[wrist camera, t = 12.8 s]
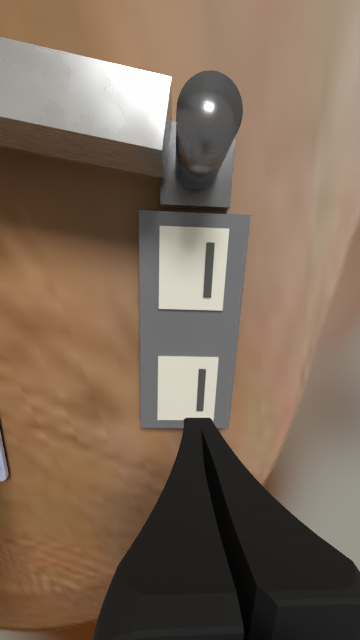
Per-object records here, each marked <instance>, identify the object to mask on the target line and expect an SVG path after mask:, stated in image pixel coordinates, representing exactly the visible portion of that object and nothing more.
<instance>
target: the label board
mask: <svg viewBox="0 0 360 640" xmlns="http://www.w3.org/2000/svg"><path fill="white" fill-rule="evenodd" d="M249 225H250V215H236V214H214V213H192V212H171V211H149V210H139V297H140V398H141V428H184V419H185V418H211V419H212V421H213V423H214V424H215V426H216V428H227V429H229V420H230V410H231V400H232V391H233V381H234V371H235V361H236V351H237V342H238V332H239V322H240V312H241V303H242V293H243V283H244V273H245V264H246V254H247V244H248V234H249Z"/></svg>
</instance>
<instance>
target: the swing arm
mask: <svg viewBox="0 0 360 640" xmlns="http://www.w3.org/2000/svg"><path fill="white" fill-rule="evenodd" d="M171 126H172V107H171V77H170V76H166V75H161V74H157V73H153V72H148V71H144V70H140V69H136V68H131V67H127V66H123V65H119V64H114V63H110V62H106V61H101V60H97V59H93V58H89V57H84V56H80V55H76V54H71V53H67V52H63V51H59V50H54V49H50V48H46V47H41V46H37V45H33V44H29V43H24V42H20V41H16V40H11V39H7V38H3V37H0V146H5V147H10V148H15V149H20V150H25V151H30V152H35V153H40V154H45V155H50V156H55V157H60V158H65V159H70V160H75V161H80V162H85V163H90V164H95V165H100V166H105V167H110V168H115V169H120V170H125V171H130V172H135V173H140V174H145V175H150V176H155V177H160V178H165V171H166V164H167V156H168V149H169V141H170V133H171Z"/></svg>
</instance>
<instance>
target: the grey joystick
mask: <svg viewBox="0 0 360 640" xmlns="http://www.w3.org/2000/svg"><path fill="white" fill-rule="evenodd" d="M242 114H243V106H242V99H241V96H240V93H239V91H238V89H237V87H236V85H235V84H234V83H233V81H232V80H231V79H230V78H229V77H227V76H226V75H224V74H222V73H220V72H217V71H203V72H200V73H198V74H196V75H194V76H193V77H191V78H190V79H189V80H188V81H187V82H186V84H185V85H184V87H183V88H182V90H181V92H180V95H179V98H178V102H177V113H176V121H172V126H171V133H170V141H169V149H168V156H167V164H166V171H165V178H161V180H160V206H161V207H166V208H188V209H209V210H228V209H229V208H230V198H231V186H232V173H233V161H234V149H235V136H236V134H237V132H238V130H239V127H240V124H241V120H242Z"/></svg>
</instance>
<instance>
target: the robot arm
mask: <svg viewBox="0 0 360 640" xmlns="http://www.w3.org/2000/svg"><path fill="white" fill-rule="evenodd" d="M8 476H9V474H8V468H7V463H6V458H5V453H4V447H3V442H2V437H1V431H0V481H4V480H6V478H7V477H8ZM93 640H360V571H359V570H358V569H357V567H356V566H355V564H354V563H353V561H351V560H350V559H349V558H347V557H346V556H345V555H343V554H342V553H341V552H339V551H338V550H337V549H335V548H334V547H333V546H331V545H330V544H329V543H327V542H326V541H325V540H323V539H322V538H320V537H319V536H318V535H316V534H315V533H314V532H313V531H312V530H310V529H309V528H308V527H307V526H306V525H304V524H303V523H302V522H301V521H299V520H298V519H297V518H296V517H295V516H294V515H292V514H291V513H290V512H289V511H288V510H287V509H286V508H285V507H283V506H282V505H281V504H280V503H279V502H278V501H277V500H276V499H275V498H274V497H273V496H272V495H271V494H270V493H269V492H268V491H267V490H266V489H265V488H264V487H263V486H262V485H261V484H260V483H259V482H258V481H257V480H256V479H255V478H254V476H253V475H252V474H251V473H250V472H249V471H248V470H247V468H246V467H245V466H244V465H243V464H242V462H241V461H240V460H239V459H238V457H237V456H236V455H235V454H234V452H233V451H232V449H231V448H230V447H229V445H228V444H227V443H226V441H225V440H224V438H223V437H222V435H221V434H220V432H219V431H218V429H217V428H216V426H215V424H214V423H213V421H212V419H211V418H185V419H184V429H183V435H182V440H181V444H180V447H179V451H178V454H177V457H176V460H175V463H174V465H173V468H172V471H171V473H170V476H169V478H168V480H167V482H166V485H165V487H164V489H163V491H162V493H161V495H160V497H159V499H158V501H157V503H156V505H155V507H154V509H153V511H152V512H151V514H150V516H149V518H148V519H147V521H146V523H145V525H144V526H143V528H142V530H141V531H140V533H139V535H138V536H137V538H136V539H135V541H134V542H133V544H132V546H131V547H130V549H129V550H128V552H127V553H126V555H125V556H124V558H123V559H122V561H121V562H120V564H119V565H118V567H117V569H116V572H115V574H114V577H113V579H112V582H111V584H110V586H109V589H108V592H107V594H106V597H105V600H104V602H103V605H102V608H101V611H100V614H99V618H98V621H97V625H96V628H95V633H94V638H93Z"/></svg>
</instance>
